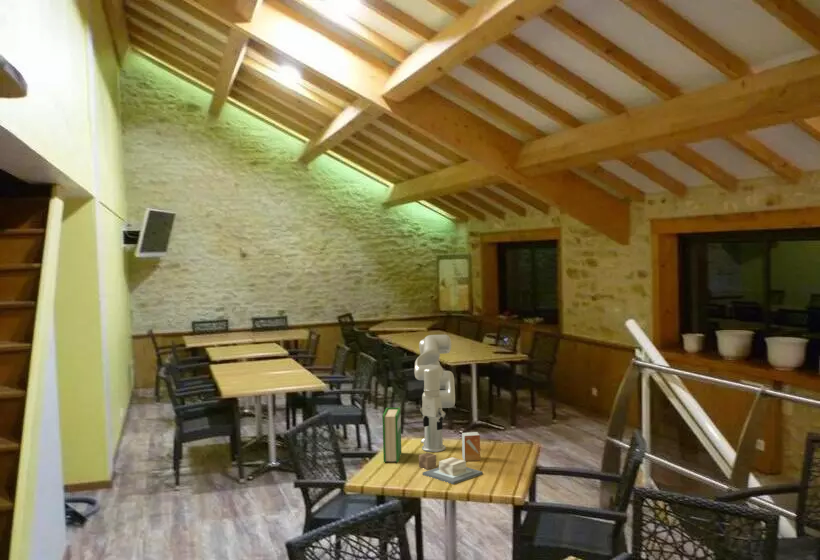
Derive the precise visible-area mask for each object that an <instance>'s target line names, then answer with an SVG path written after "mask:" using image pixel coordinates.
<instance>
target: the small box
mask: <svg viewBox="0 0 820 560" xmlns="http://www.w3.org/2000/svg"><path fill="white" fill-rule="evenodd" d="M461 451H462V452H461V453H462V455H461V457H462V460H464V461H466V462H472V461H473V462H475V461H476V462H477V461H481V435H480V434H479V432H478V431H473V432H472V431H471V432H462V433H461Z"/></svg>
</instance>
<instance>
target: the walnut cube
mask: <svg viewBox="0 0 820 560" xmlns="http://www.w3.org/2000/svg"><path fill="white" fill-rule="evenodd" d="M418 467H419V468H420V467H421V469H423V468H424V470H426V471H428V470H432V469H435V468H437V454H433V453H432V452H424V453H421V454H419V455H418ZM434 467H435V468H434Z"/></svg>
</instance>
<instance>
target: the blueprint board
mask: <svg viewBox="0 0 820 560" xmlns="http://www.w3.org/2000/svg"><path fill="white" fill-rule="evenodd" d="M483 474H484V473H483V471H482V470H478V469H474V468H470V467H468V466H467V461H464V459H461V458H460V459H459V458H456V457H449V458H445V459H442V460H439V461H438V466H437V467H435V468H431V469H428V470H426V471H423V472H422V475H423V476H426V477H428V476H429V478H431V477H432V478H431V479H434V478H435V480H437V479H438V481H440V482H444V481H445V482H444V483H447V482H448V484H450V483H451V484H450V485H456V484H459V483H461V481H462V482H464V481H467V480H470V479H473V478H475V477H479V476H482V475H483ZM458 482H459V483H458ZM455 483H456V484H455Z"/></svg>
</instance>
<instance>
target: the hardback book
mask: <svg viewBox="0 0 820 560" xmlns="http://www.w3.org/2000/svg"><path fill="white" fill-rule="evenodd" d="M401 415H402V414H401V407H386V408H385V410H384V411H383V414H382V446H383V447H382V449H383V451H382V452H383V456H382V457H383V463H384V462H386V463H387V462H396V463H397V462H399V463H400V460H401V456H400V455H402V422H401V421H402V420H401V418H402V417H401Z"/></svg>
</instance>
